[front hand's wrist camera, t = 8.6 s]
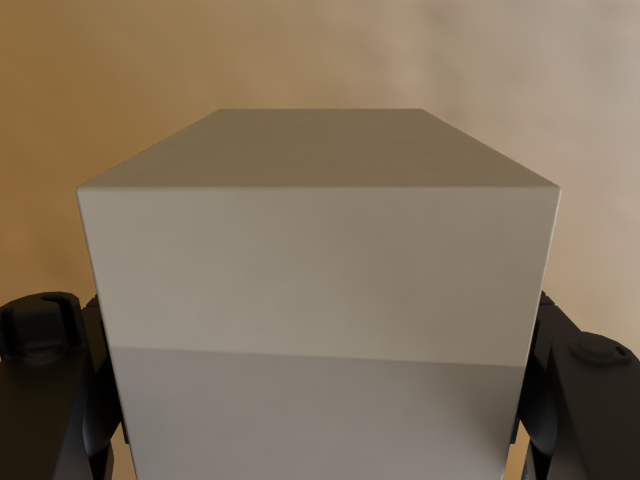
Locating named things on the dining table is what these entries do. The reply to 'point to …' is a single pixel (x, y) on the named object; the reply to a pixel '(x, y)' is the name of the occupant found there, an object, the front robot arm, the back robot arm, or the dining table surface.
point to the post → (319, 296)
